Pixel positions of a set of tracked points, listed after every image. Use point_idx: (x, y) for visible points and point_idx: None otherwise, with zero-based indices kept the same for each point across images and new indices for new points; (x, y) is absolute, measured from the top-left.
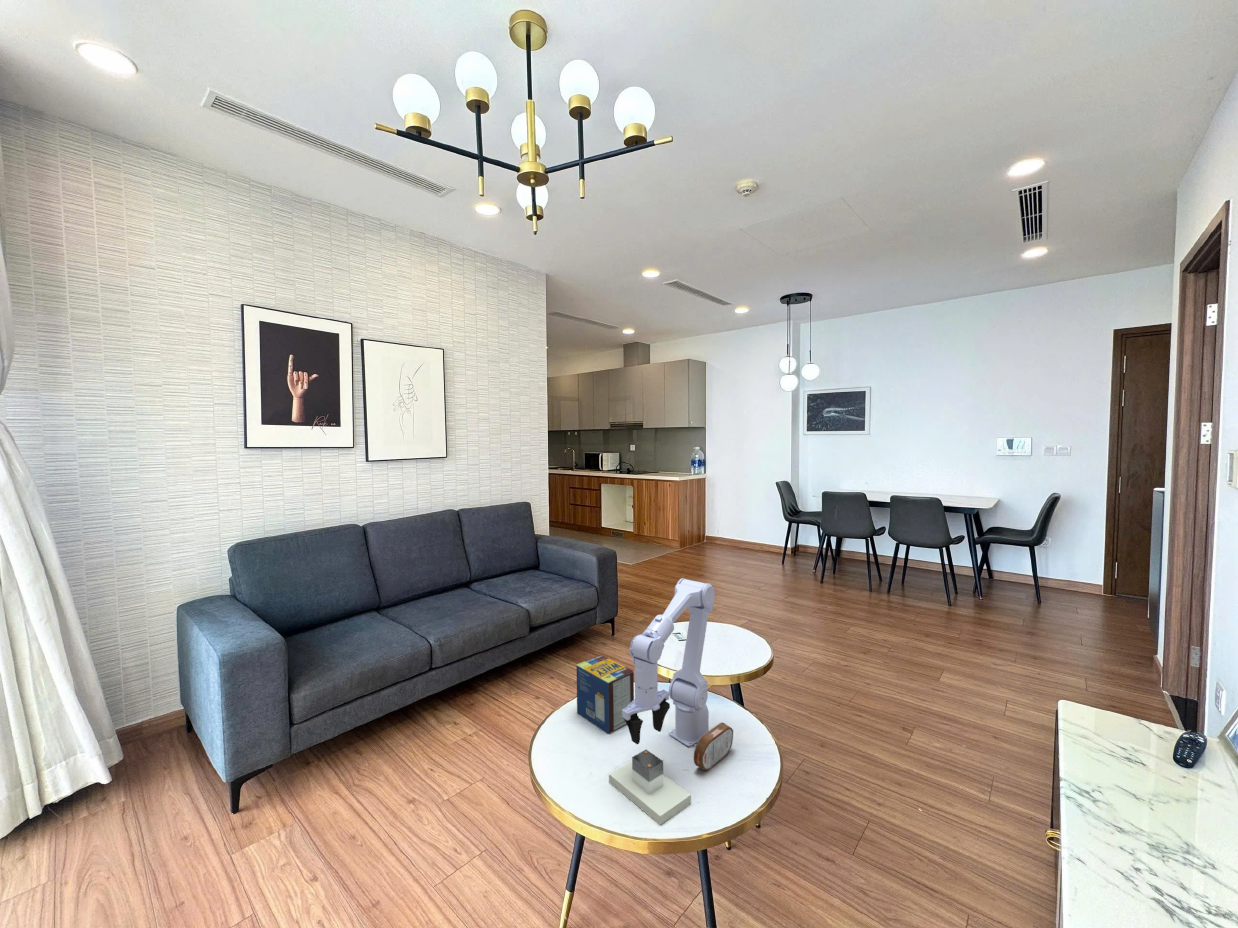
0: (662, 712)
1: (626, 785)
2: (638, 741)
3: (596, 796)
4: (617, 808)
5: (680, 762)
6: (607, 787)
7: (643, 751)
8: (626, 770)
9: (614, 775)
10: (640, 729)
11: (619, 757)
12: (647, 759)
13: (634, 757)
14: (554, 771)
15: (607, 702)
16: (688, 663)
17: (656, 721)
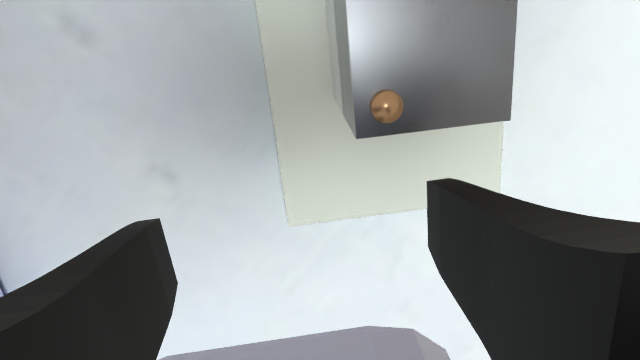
0: (21, 336)
1: None
2: (452, 181)
3: (588, 132)
4: (576, 4)
5: (72, 100)
6: (512, 154)
7: (391, 127)
8: (411, 172)
9: (485, 174)
10: (509, 222)
11: (337, 290)
12: (434, 20)
13: (500, 104)
14: None
15: None
16: None
17: (141, 308)
